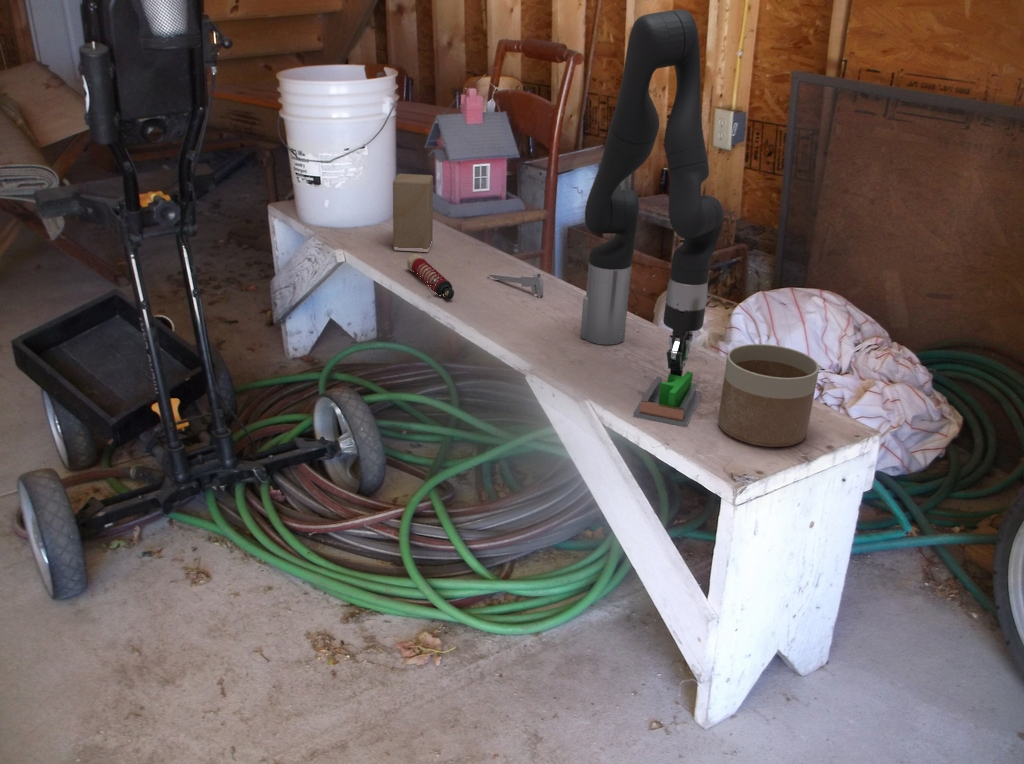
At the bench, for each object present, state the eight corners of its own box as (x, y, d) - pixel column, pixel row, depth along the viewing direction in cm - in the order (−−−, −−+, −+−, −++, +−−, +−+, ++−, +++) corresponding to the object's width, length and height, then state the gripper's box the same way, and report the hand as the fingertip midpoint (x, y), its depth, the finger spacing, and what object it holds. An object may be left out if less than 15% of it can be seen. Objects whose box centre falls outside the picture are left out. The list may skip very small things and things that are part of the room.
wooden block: (393, 251, 267) (392, 180, 259) (398, 241, 276) (397, 173, 268) (428, 253, 267) (429, 182, 259) (432, 243, 276) (433, 174, 268)
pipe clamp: (671, 390, 186) (674, 368, 184) (690, 394, 185) (693, 372, 183) (653, 410, 177) (655, 388, 175) (672, 415, 175) (675, 392, 173)
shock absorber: (463, 289, 229) (422, 253, 254) (446, 283, 227) (407, 248, 252) (455, 307, 231) (416, 269, 255) (439, 301, 228) (400, 264, 253)
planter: (755, 404, 183) (766, 337, 178) (824, 435, 172) (838, 366, 166) (699, 423, 174) (708, 354, 169) (767, 458, 163) (780, 385, 158)
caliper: (542, 298, 236) (544, 274, 234) (539, 299, 236) (541, 275, 233) (489, 277, 250) (489, 254, 247) (486, 278, 249) (486, 255, 247)
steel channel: (633, 416, 176) (634, 402, 175) (651, 386, 189) (653, 373, 188) (686, 426, 173) (688, 413, 172) (701, 395, 186) (703, 382, 185)
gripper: (673, 288, 186) (663, 369, 193) (658, 309, 175) (648, 394, 182) (711, 294, 184) (699, 376, 191) (699, 316, 172) (686, 402, 180)
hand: (674, 385), depth 186 cm, fingers closed
